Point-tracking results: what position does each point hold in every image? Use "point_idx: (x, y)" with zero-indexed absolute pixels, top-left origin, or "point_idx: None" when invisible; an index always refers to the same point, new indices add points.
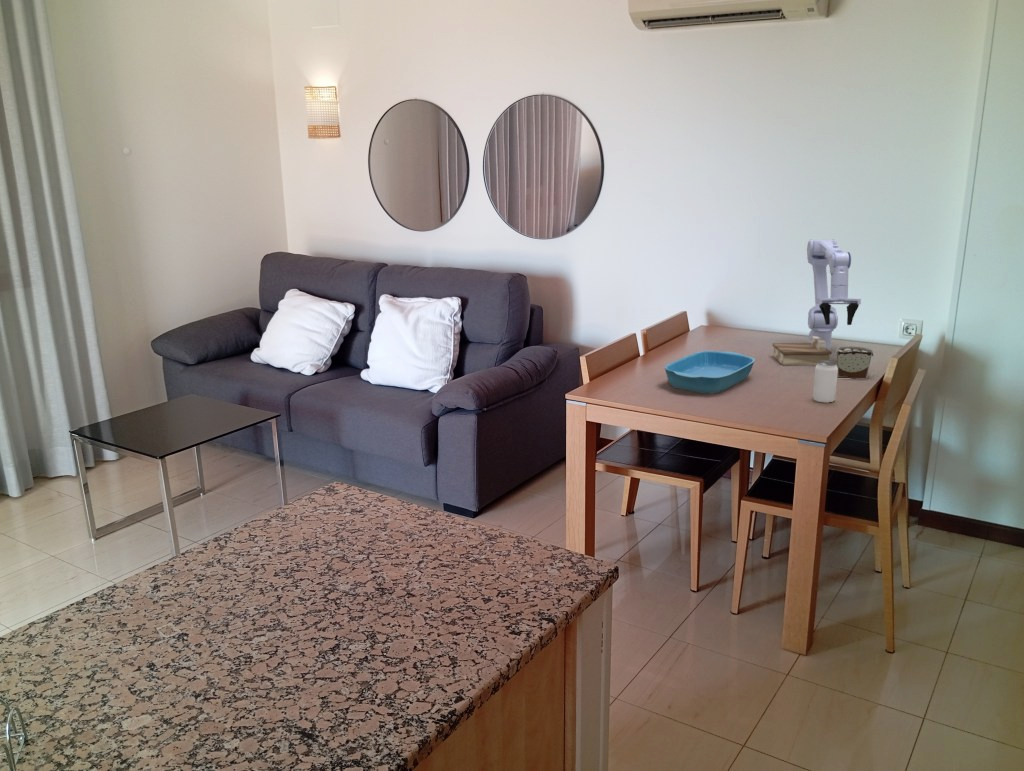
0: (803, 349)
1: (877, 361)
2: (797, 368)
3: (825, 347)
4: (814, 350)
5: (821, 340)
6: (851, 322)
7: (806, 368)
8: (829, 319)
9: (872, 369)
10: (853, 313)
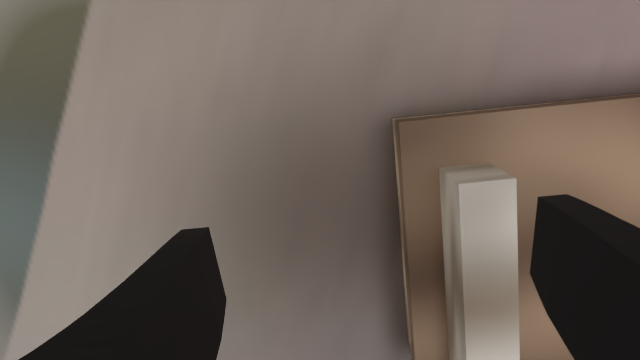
0: (619, 189)
1: (36, 298)
2: (615, 65)
3: (447, 173)
4: (534, 159)
5: (482, 261)
6: (170, 240)
7: (552, 70)
8: (589, 224)
9: (105, 80)
10: (71, 341)
